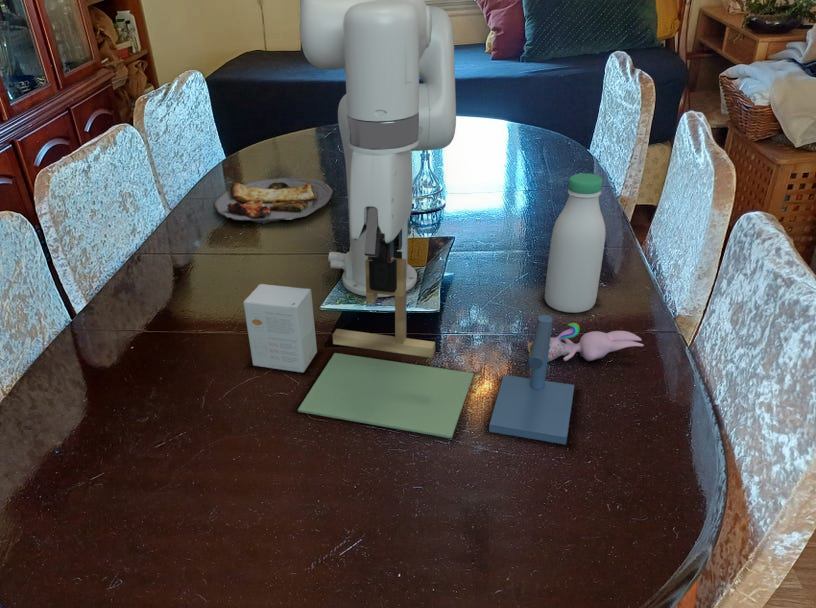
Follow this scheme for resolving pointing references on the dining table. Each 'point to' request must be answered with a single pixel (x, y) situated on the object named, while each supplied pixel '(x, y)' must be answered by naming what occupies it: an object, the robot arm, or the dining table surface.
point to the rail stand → (534, 397)
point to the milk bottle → (577, 248)
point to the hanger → (399, 341)
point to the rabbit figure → (589, 343)
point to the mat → (389, 394)
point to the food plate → (273, 199)
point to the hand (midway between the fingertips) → (386, 284)
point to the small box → (281, 327)
